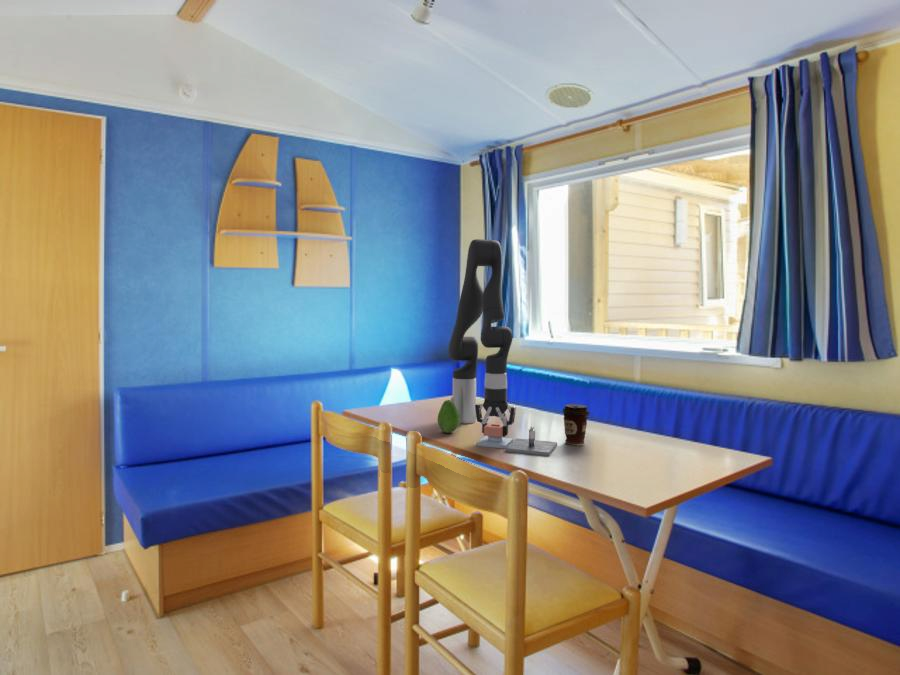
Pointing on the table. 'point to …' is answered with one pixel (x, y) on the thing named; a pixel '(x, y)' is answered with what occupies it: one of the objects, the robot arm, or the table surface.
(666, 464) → the table surface
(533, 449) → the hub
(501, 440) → the stand
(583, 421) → the coffee cup
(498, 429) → the salmon square frame
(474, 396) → the robot arm
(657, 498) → the table surface
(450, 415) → the avocado
